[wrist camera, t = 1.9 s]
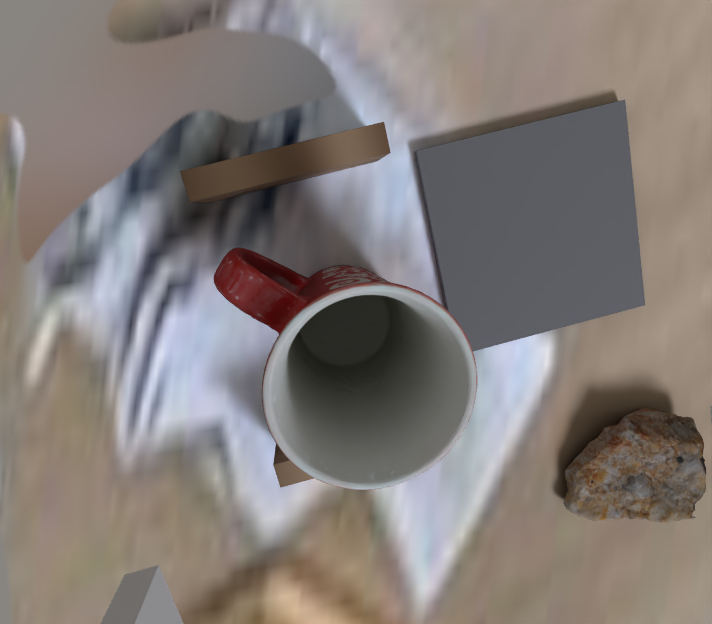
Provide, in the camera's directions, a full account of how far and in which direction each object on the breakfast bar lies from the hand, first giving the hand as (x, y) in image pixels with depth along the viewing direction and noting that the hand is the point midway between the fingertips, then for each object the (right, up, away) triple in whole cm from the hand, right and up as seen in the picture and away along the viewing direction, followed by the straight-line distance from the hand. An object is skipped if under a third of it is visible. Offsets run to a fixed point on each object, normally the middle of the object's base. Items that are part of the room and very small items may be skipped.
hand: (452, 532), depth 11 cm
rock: (+19, -7, +27) cm, 33 cm away
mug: (-4, +6, +21) cm, 23 cm away
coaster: (+10, +11, +22) cm, 26 cm away
